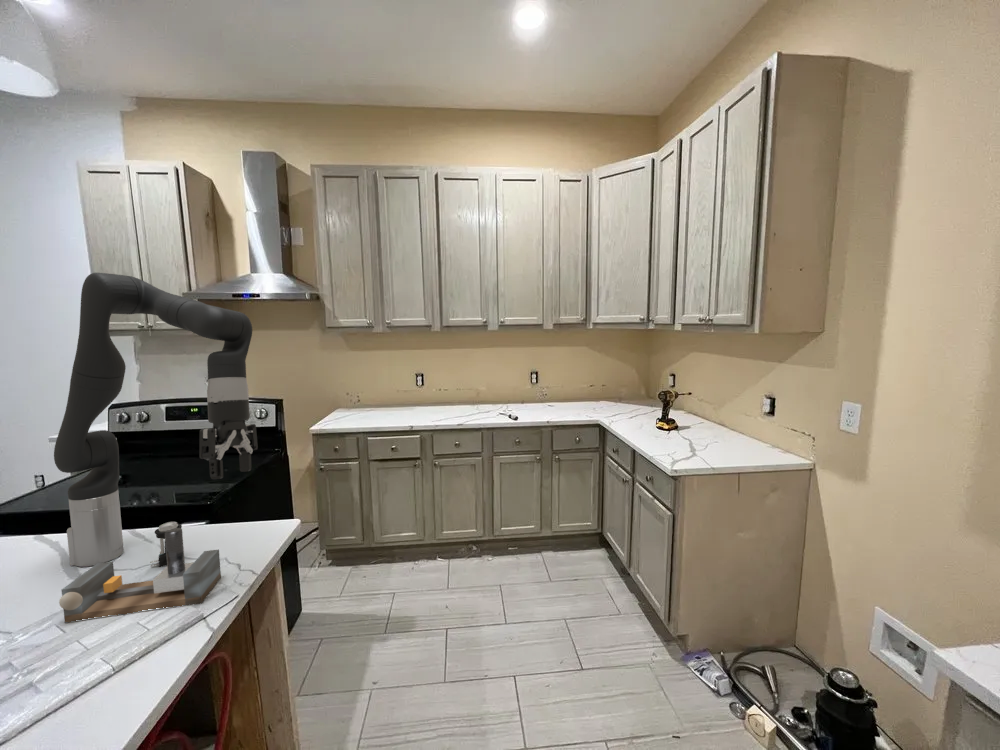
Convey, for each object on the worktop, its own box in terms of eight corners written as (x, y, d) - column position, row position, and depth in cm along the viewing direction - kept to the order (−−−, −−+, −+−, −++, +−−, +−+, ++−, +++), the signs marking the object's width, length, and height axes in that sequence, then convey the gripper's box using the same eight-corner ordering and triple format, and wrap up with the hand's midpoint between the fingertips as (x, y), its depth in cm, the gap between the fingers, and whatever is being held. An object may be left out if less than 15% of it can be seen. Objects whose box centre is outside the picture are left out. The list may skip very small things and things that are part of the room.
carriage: (154, 593, 88) (149, 539, 87) (169, 578, 94) (165, 526, 93) (186, 589, 90) (182, 535, 89) (199, 574, 95) (195, 523, 94)
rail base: (61, 624, 83) (58, 590, 82) (98, 593, 93) (95, 563, 92) (200, 604, 88) (198, 573, 88) (221, 577, 98) (218, 549, 98)
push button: (150, 572, 101) (146, 533, 100) (151, 563, 105) (148, 525, 104) (184, 563, 105) (181, 525, 104) (184, 555, 109) (181, 518, 109)
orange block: (104, 593, 87) (103, 584, 87) (113, 585, 90) (112, 576, 90) (113, 592, 88) (112, 582, 87) (122, 584, 91) (121, 575, 90)
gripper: (235, 400, 97) (238, 470, 96) (185, 401, 83) (188, 483, 82) (265, 398, 97) (269, 468, 96) (220, 398, 83) (224, 480, 82)
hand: (231, 474), depth 89 cm, fingers open, 8 cm apart
